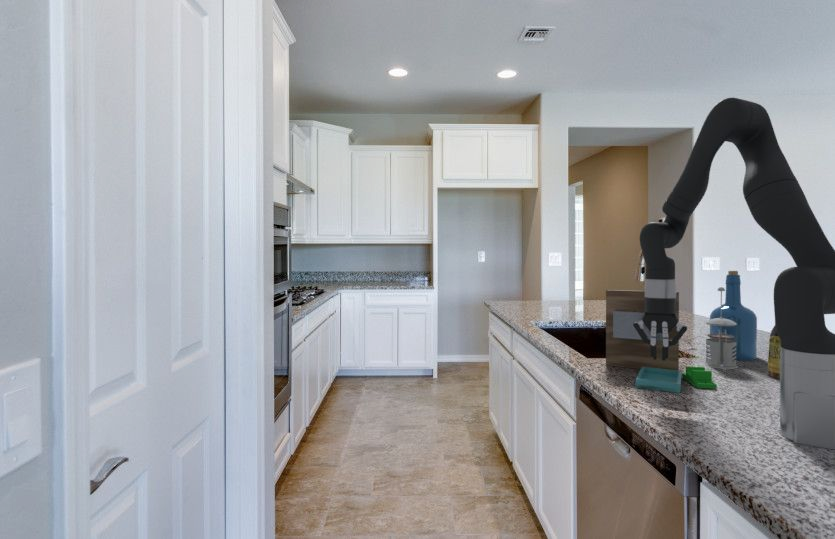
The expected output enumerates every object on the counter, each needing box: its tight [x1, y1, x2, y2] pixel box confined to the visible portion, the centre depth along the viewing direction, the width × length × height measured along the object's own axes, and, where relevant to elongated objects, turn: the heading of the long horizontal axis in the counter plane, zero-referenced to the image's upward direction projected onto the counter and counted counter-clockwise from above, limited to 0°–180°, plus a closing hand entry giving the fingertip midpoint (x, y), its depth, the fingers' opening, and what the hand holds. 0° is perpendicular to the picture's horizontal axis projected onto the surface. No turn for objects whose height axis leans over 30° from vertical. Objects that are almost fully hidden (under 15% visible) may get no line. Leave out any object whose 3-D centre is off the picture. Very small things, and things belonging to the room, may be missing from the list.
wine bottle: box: [709, 270, 758, 361], centre depth 149 cm, size 14×13×30 cm
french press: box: [703, 287, 739, 370], centre depth 137 cm, size 10×12×25 cm
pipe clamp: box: [682, 365, 718, 390], centre depth 118 cm, size 11×4×5 cm
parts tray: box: [635, 367, 683, 394], centre depth 119 cm, size 16×10×2 cm, turn 147°
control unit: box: [613, 310, 663, 341], centre depth 132 cm, size 6×14×9 cm, turn 57°
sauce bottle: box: [767, 325, 781, 380], centre depth 123 cm, size 7×6×20 cm
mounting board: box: [605, 289, 680, 371], centre depth 135 cm, size 2×20×24 cm, turn 58°
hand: (659, 359), depth 119 cm, fingers closed
